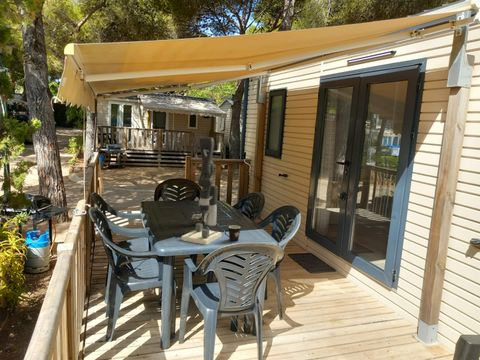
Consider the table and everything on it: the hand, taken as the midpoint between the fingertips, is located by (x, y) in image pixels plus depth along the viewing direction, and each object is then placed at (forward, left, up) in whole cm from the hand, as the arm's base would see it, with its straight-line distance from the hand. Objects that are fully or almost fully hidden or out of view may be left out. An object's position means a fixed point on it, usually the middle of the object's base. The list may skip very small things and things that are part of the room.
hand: (203, 226), depth 292 cm
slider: (+19, +12, -2) cm, 23 cm away
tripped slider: (+7, 0, -2) cm, 7 cm away
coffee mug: (+6, +27, -6) cm, 28 cm away
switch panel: (+13, +6, -5) cm, 15 cm away
